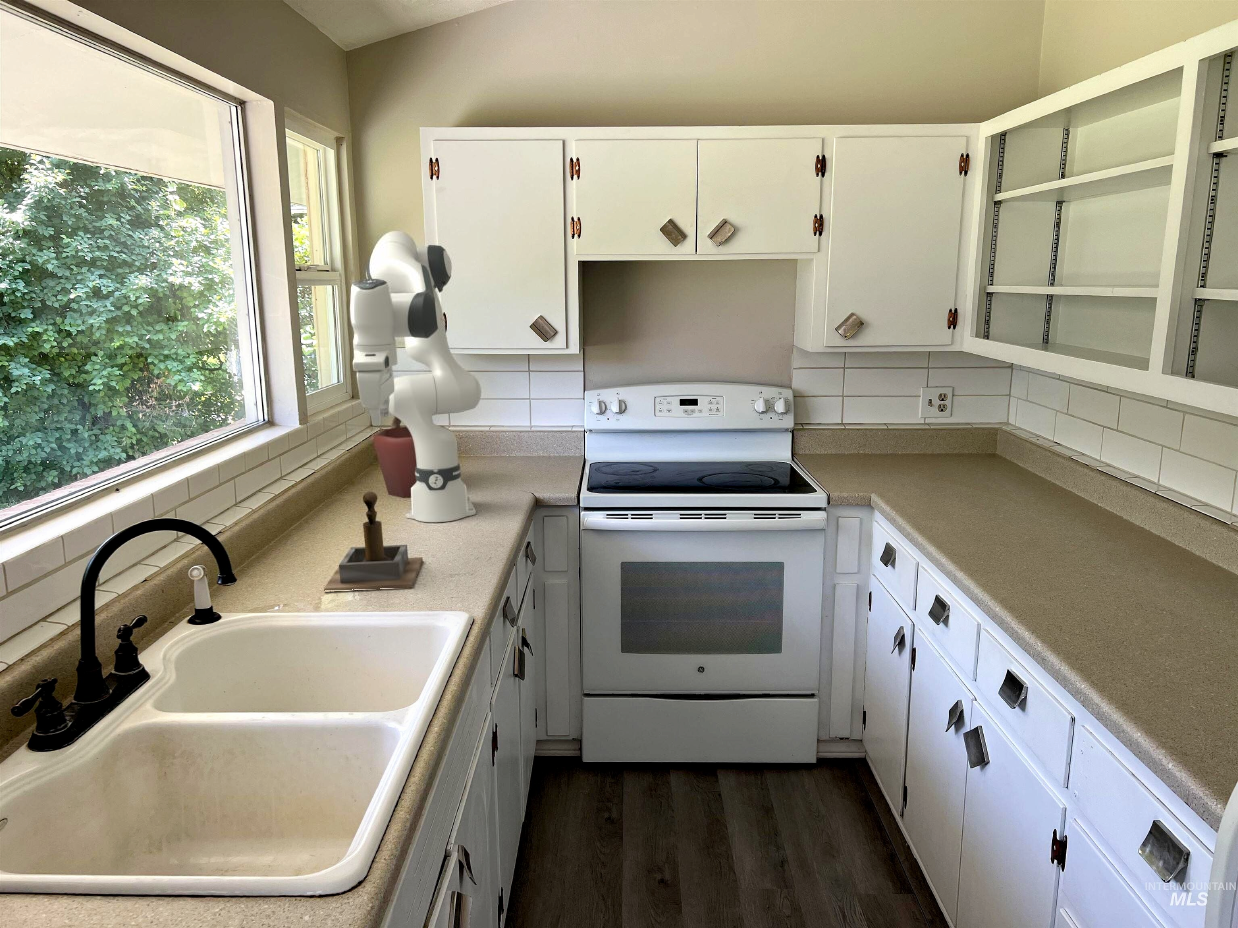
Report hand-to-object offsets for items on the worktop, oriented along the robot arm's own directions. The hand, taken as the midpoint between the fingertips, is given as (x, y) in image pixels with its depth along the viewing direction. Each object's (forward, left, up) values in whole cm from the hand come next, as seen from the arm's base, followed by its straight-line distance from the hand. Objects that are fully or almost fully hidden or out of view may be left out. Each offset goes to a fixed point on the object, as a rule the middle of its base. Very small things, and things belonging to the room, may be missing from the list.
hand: (380, 420), depth 191 cm
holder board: (+5, -3, -34) cm, 34 cm away
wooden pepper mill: (+5, -3, -33) cm, 33 cm away
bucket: (-73, -5, -34) cm, 81 cm away
